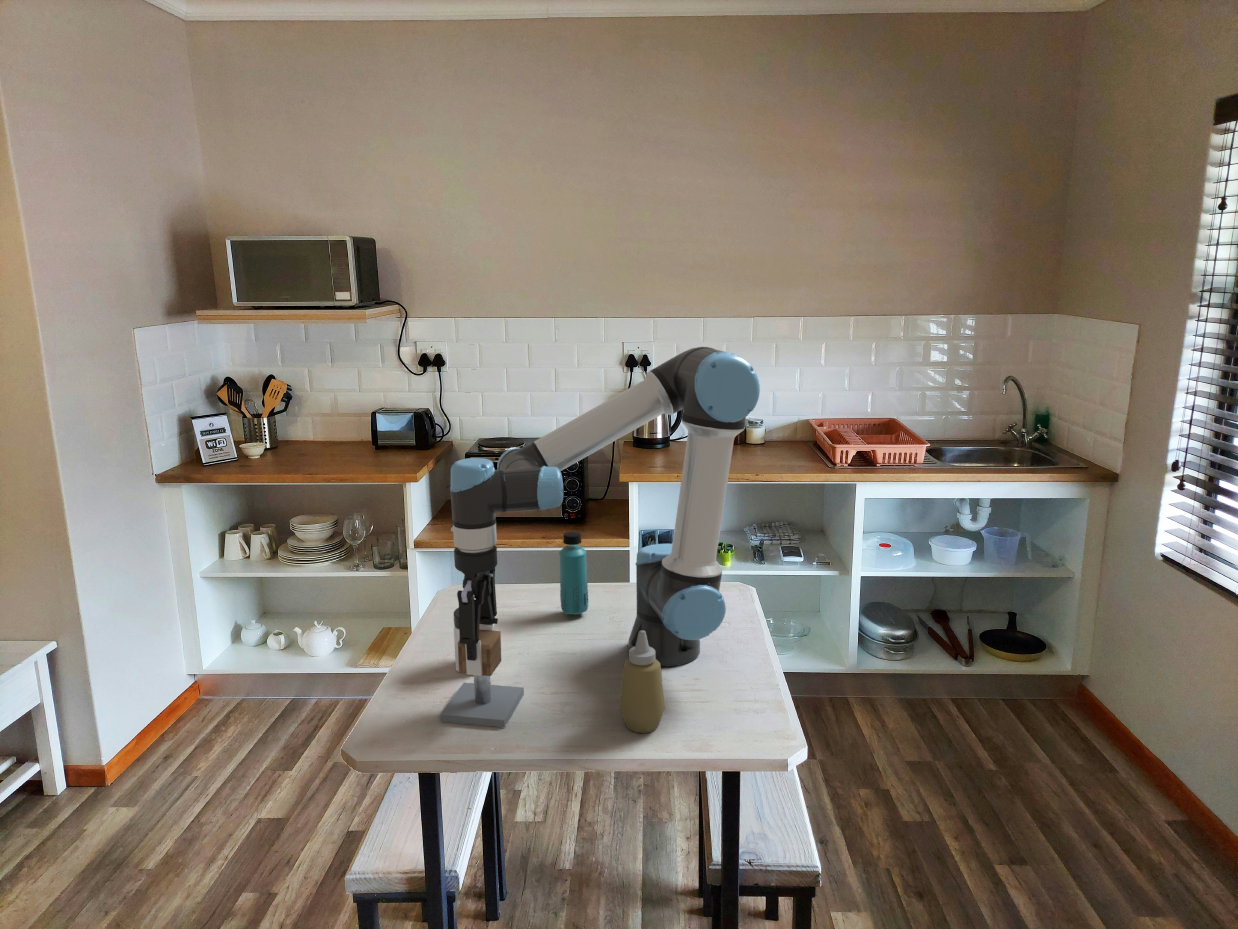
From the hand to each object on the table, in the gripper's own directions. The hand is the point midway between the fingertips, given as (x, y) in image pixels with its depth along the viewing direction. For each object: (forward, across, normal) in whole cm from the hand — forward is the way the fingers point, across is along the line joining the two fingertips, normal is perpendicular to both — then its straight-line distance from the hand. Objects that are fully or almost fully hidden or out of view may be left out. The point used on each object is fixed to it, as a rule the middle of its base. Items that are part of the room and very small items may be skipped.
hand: (480, 665), depth 158 cm
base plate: (+9, 0, 0) cm, 9 cm away
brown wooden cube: (0, 0, 0) cm, 0 cm away
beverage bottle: (+9, -44, +7) cm, 45 cm away
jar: (+9, -16, -7) cm, 20 cm away
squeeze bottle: (+9, +1, +30) cm, 31 cm away
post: (+7, 0, 0) cm, 7 cm away
